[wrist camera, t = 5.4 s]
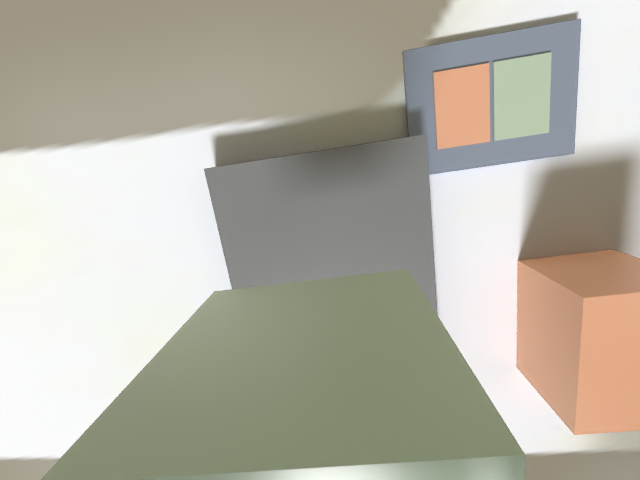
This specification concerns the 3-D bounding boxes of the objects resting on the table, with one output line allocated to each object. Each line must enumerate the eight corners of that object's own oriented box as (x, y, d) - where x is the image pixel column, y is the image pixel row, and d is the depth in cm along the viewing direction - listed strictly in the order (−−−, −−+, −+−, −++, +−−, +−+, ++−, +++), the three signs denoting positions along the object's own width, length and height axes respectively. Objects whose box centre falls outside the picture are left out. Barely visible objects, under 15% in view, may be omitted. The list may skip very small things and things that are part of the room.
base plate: (434, 368, 20) (441, 384, 18) (263, 383, 21) (258, 400, 19) (418, 136, 16) (426, 134, 15) (215, 167, 17) (203, 168, 16)
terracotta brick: (601, 358, 19) (691, 426, 14) (515, 365, 19) (574, 434, 15) (610, 248, 17) (717, 284, 12) (516, 259, 18) (583, 298, 13)
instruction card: (569, 153, 16) (575, 153, 16) (411, 176, 17) (413, 176, 16) (576, 21, 14) (582, 17, 14) (402, 52, 15) (403, 49, 15)
